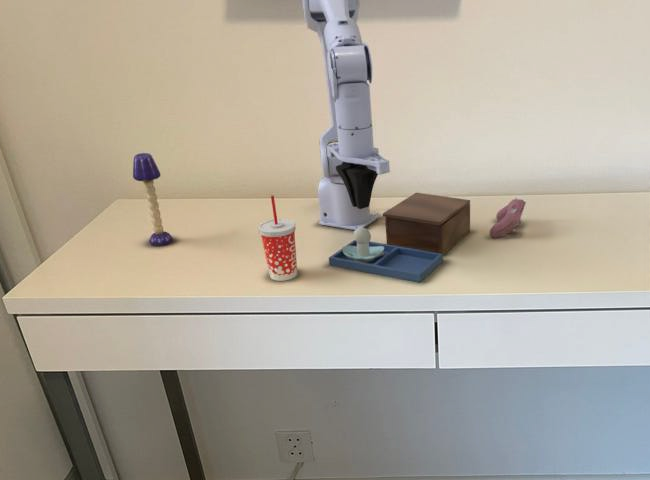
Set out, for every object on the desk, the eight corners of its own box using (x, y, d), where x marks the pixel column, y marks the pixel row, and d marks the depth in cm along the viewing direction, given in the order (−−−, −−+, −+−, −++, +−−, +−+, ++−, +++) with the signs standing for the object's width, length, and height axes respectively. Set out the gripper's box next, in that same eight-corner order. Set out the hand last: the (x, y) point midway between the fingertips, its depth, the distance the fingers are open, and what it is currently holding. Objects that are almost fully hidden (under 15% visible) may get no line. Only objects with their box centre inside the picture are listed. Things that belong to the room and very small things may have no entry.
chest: (442, 256, 134) (441, 225, 131) (386, 246, 139) (384, 217, 136) (470, 231, 144) (470, 203, 141) (417, 223, 148) (416, 195, 145)
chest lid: (440, 225, 131) (439, 222, 130) (382, 216, 135) (382, 213, 135) (470, 203, 141) (470, 199, 141) (416, 195, 145) (415, 192, 145)
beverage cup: (284, 285, 125) (273, 204, 118) (257, 277, 128) (244, 198, 121) (309, 272, 130) (299, 193, 122) (282, 264, 132) (271, 187, 125)
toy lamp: (180, 240, 143) (161, 152, 134) (162, 249, 139) (142, 159, 131) (161, 236, 145) (141, 149, 136) (143, 245, 141) (121, 156, 132)
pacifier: (347, 252, 136) (341, 264, 131) (344, 218, 133) (338, 230, 128) (387, 252, 136) (383, 265, 131) (385, 219, 133) (381, 230, 128)
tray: (419, 282, 125) (419, 274, 124) (329, 265, 132) (328, 257, 131) (443, 261, 132) (443, 253, 132) (356, 246, 139) (355, 238, 138)
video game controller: (508, 247, 141) (526, 216, 137) (487, 235, 141) (504, 204, 137) (515, 228, 149) (532, 198, 146) (494, 217, 149) (511, 187, 145)
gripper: (402, 128, 119) (406, 210, 126) (347, 113, 128) (354, 190, 135) (367, 137, 115) (373, 221, 122) (313, 121, 124) (321, 200, 131)
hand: (361, 206), depth 128 cm, fingers closed
